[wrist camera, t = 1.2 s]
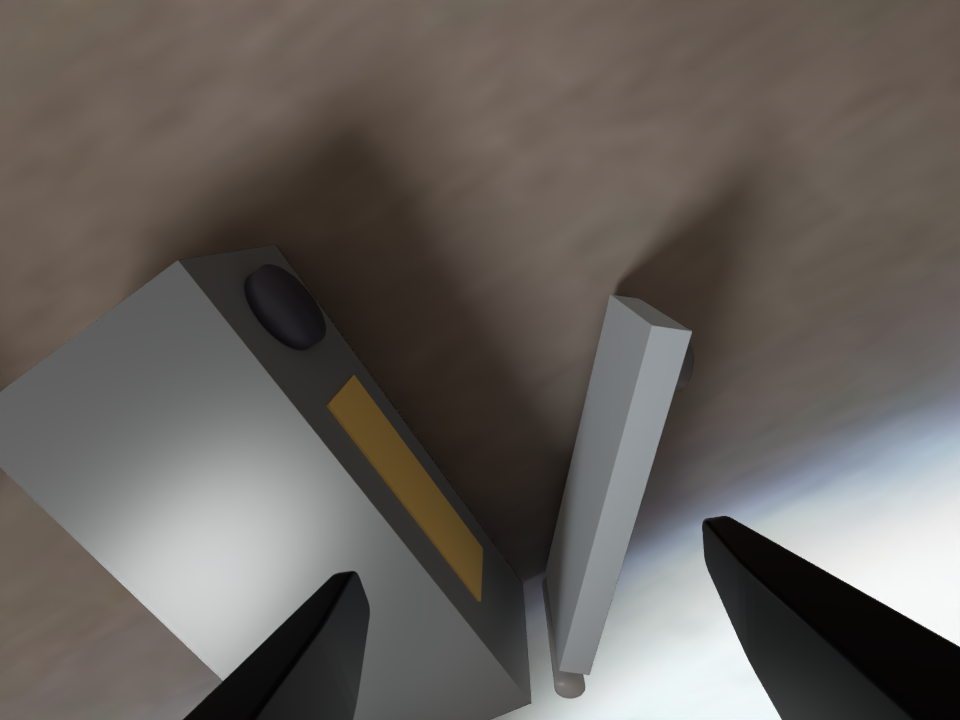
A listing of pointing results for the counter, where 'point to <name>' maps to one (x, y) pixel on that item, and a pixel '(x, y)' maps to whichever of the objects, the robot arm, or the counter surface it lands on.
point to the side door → (609, 477)
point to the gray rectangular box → (265, 486)
